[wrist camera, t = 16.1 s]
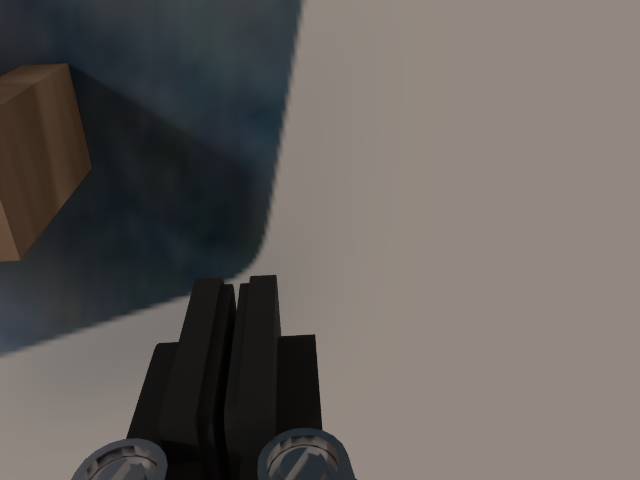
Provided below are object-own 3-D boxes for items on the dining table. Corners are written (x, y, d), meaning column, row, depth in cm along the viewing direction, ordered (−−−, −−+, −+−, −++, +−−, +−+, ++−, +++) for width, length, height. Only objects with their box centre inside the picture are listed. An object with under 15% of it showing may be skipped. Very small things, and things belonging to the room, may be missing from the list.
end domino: (50, 170, 28) (-39, 264, 20) (22, 65, 25) (-93, 124, 17) (92, 167, 28) (20, 260, 20) (67, 63, 25) (-25, 120, 18)
